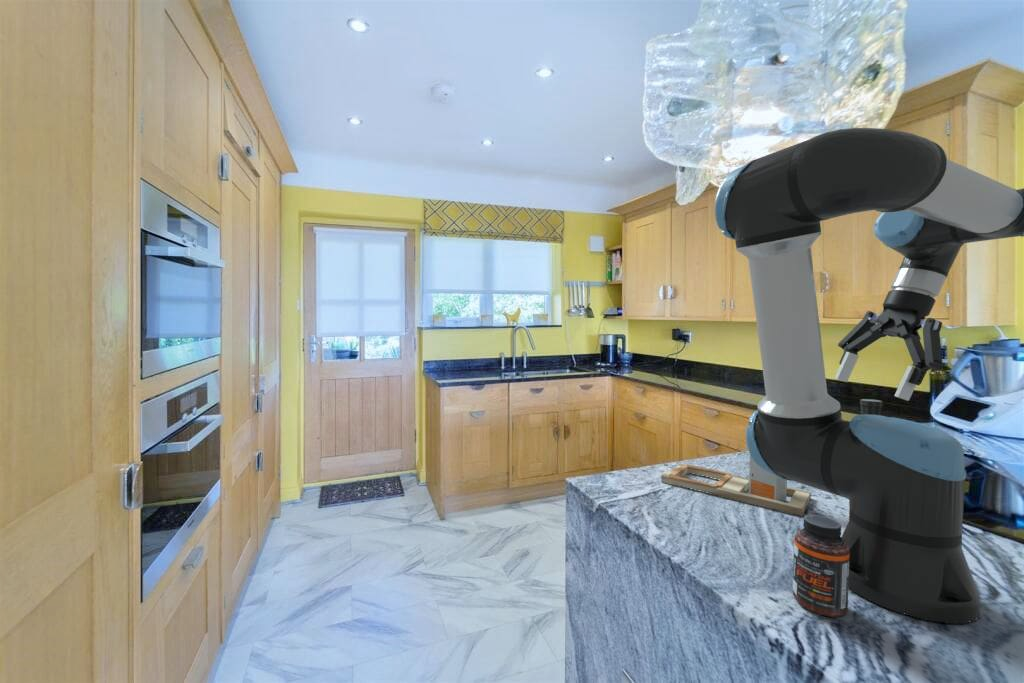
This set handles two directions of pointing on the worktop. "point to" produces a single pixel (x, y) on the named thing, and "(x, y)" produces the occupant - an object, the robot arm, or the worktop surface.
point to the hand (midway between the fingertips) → (868, 388)
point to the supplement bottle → (821, 567)
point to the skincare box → (766, 483)
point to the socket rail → (735, 488)
